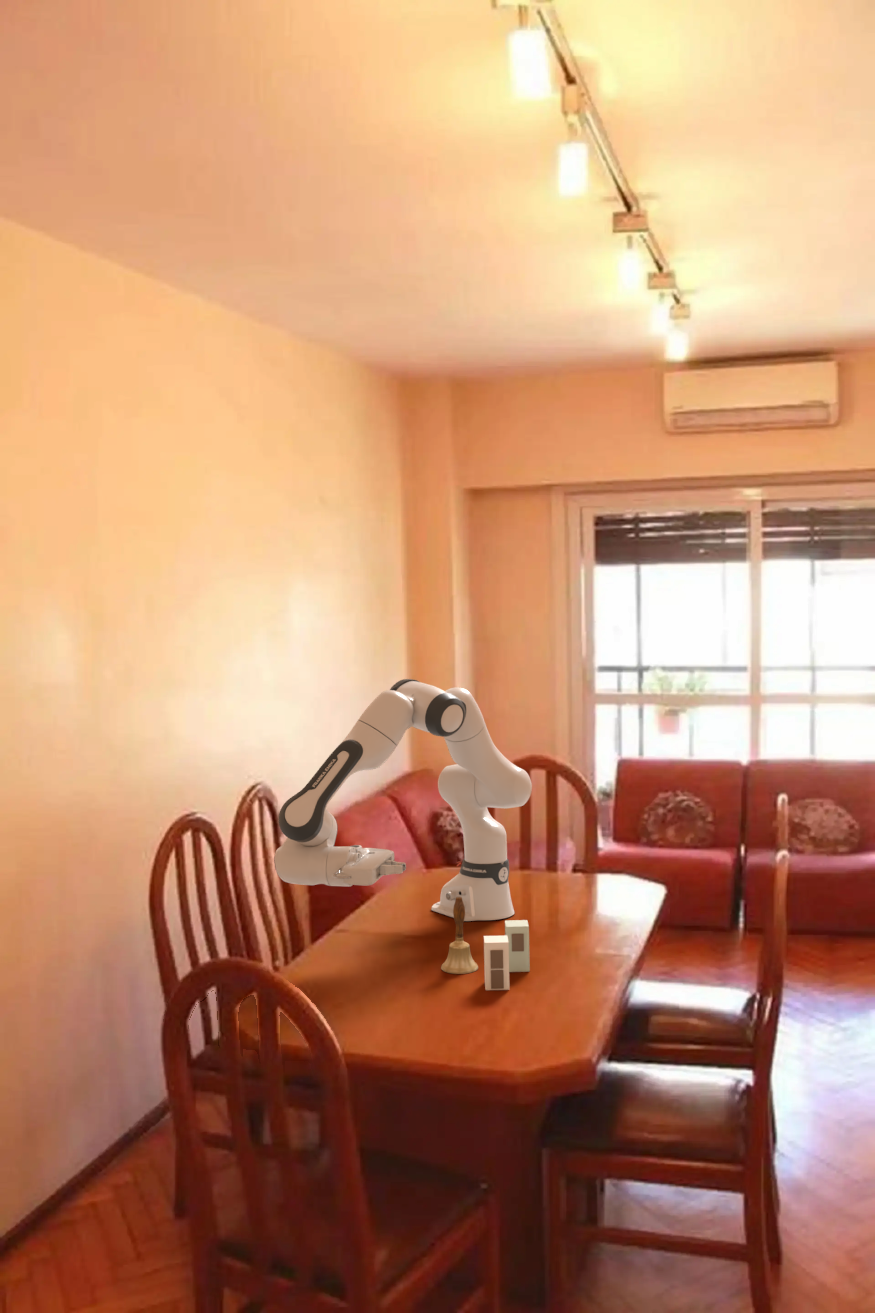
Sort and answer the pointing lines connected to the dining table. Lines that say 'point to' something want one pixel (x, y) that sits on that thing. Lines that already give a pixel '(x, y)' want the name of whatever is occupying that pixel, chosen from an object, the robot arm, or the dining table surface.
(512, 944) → the sage block marked
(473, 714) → the robot arm
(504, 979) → the cream block marked
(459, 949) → the hand bell
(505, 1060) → the dining table surface
